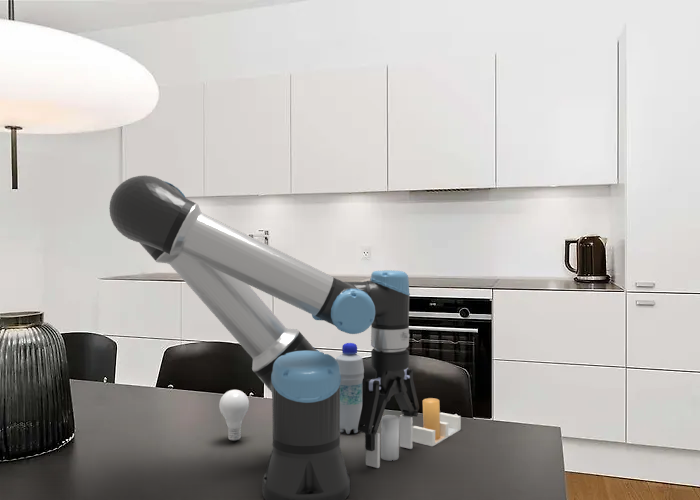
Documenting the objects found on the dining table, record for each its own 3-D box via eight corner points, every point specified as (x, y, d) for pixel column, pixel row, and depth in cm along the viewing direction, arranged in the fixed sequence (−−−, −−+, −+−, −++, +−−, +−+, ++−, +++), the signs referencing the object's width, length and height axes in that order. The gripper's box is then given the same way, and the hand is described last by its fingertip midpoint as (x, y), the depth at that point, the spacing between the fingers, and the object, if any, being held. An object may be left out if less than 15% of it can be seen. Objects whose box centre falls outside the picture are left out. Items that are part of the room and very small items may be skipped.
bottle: (365, 426, 140) (365, 340, 139) (362, 436, 133) (363, 346, 133) (336, 425, 141) (336, 339, 140) (332, 435, 134) (332, 345, 133)
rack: (432, 446, 127) (432, 431, 127) (411, 441, 130) (411, 427, 130) (460, 429, 138) (460, 416, 138) (441, 425, 141) (441, 412, 140)
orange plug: (442, 435, 132) (441, 399, 132) (436, 440, 129) (435, 404, 129) (427, 432, 134) (426, 397, 134) (421, 438, 131) (420, 402, 130)
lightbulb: (213, 442, 129) (212, 391, 129) (232, 433, 135) (231, 385, 134) (236, 447, 126) (236, 395, 126) (255, 438, 132) (255, 388, 131)
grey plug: (390, 462, 119) (390, 422, 118) (376, 456, 121) (377, 417, 121) (402, 457, 121) (403, 418, 120) (389, 451, 124) (389, 413, 123)
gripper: (371, 361, 108) (371, 480, 109) (435, 341, 128) (435, 443, 128) (338, 356, 113) (338, 470, 114) (405, 337, 132) (405, 435, 133)
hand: (390, 456), depth 121 cm, fingers open, 12 cm apart
